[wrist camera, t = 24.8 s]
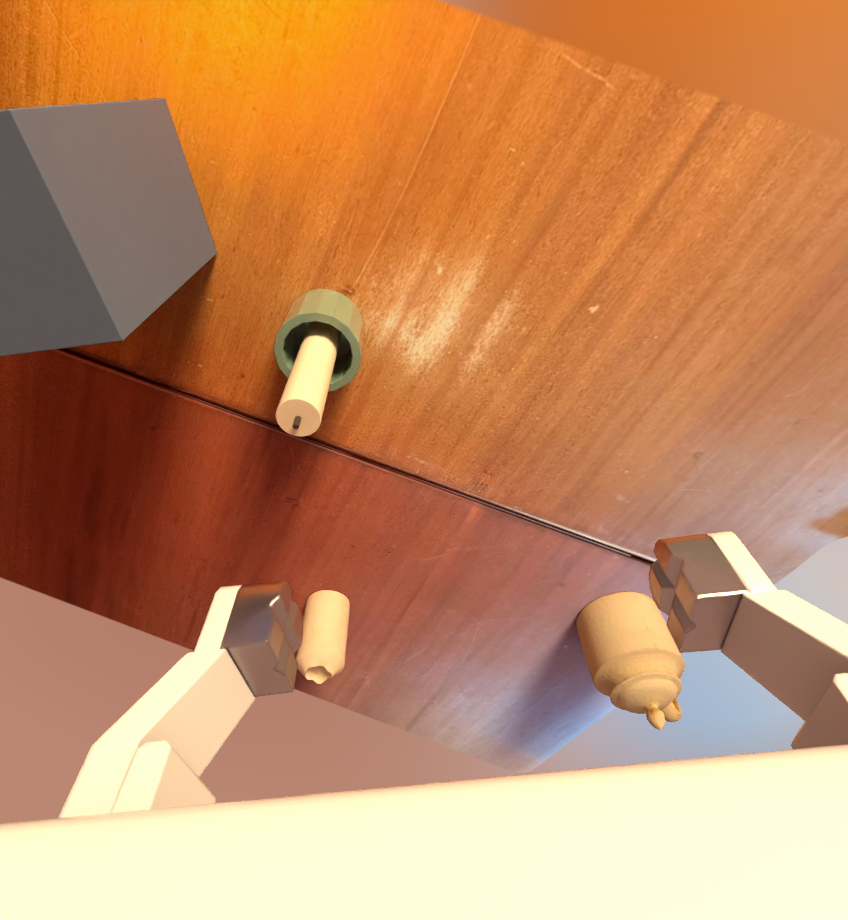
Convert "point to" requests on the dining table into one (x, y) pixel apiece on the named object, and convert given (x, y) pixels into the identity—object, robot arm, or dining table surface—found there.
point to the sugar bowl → (632, 655)
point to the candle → (324, 636)
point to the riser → (92, 222)
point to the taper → (309, 381)
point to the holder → (330, 311)
